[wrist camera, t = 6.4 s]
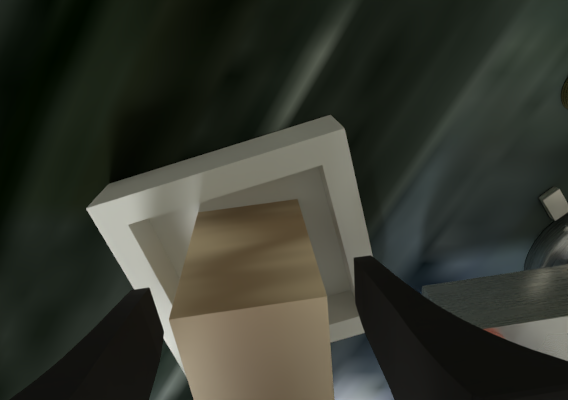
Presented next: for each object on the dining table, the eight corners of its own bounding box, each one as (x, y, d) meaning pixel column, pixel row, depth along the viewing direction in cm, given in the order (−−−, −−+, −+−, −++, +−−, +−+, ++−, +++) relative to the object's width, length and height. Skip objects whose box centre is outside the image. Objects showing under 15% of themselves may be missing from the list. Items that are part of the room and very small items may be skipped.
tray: (196, 344, 18) (190, 382, 16) (108, 183, 14) (86, 208, 12) (372, 293, 18) (388, 326, 16) (330, 114, 14) (344, 128, 12)
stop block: (297, 199, 15) (327, 296, 9) (305, 279, 16) (334, 401, 11) (198, 212, 14) (168, 319, 9) (216, 292, 16) (201, 422, 11)
